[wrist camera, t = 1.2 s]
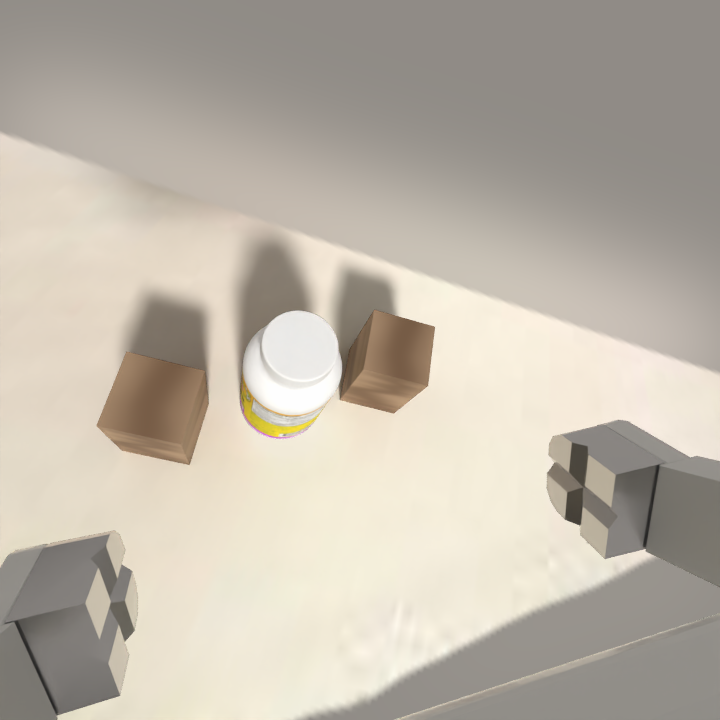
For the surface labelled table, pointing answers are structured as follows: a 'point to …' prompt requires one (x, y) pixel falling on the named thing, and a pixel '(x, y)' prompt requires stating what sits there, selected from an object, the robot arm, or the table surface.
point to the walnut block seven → (388, 362)
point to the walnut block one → (155, 408)
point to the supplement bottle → (289, 374)
